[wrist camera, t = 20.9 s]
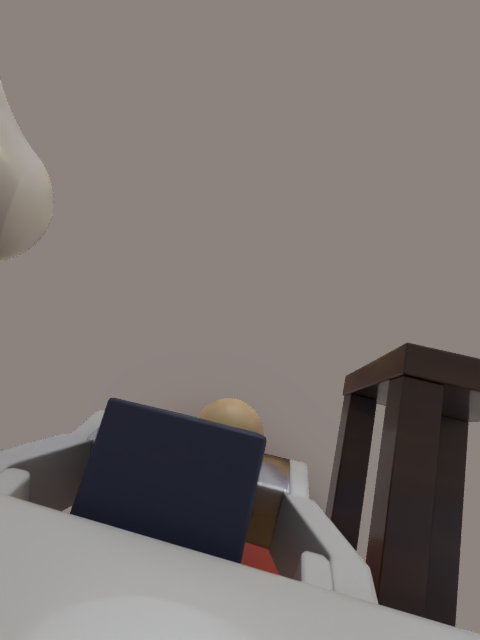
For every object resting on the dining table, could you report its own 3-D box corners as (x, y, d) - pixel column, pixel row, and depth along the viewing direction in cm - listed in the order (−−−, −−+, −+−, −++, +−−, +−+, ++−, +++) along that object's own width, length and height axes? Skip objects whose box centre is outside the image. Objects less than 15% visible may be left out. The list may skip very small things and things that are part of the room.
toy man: (264, 609, 7) (311, 361, 8) (28, 538, 7) (109, 314, 8) (254, 476, 26) (268, 409, 27) (189, 459, 26) (207, 394, 27)
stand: (629, 1475, 8) (594, 383, 15) (292, 1309, 9) (406, 341, 16) (418, 891, 19) (455, 401, 26) (269, 837, 20) (345, 375, 27)
